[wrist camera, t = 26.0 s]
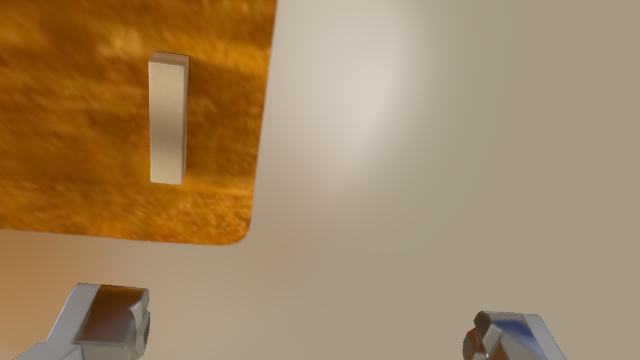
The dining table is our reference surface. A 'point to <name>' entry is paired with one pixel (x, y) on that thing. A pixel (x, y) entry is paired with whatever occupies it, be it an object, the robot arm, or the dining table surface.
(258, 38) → the dining table surface
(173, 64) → the beige rectangular block
